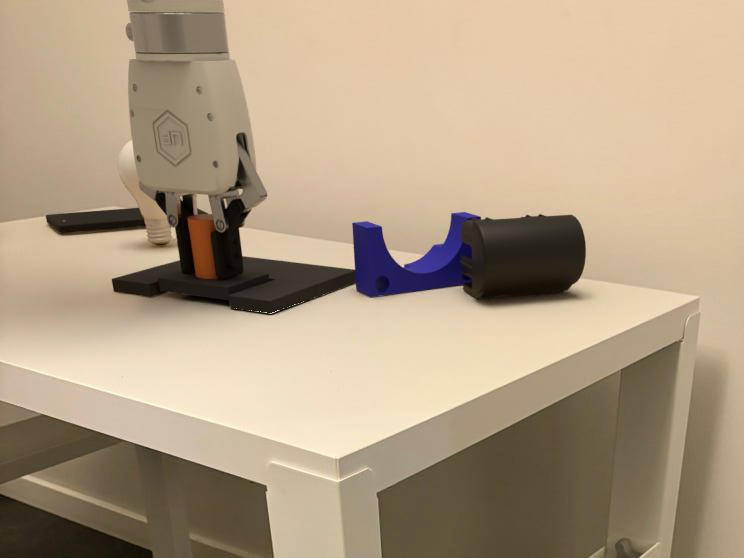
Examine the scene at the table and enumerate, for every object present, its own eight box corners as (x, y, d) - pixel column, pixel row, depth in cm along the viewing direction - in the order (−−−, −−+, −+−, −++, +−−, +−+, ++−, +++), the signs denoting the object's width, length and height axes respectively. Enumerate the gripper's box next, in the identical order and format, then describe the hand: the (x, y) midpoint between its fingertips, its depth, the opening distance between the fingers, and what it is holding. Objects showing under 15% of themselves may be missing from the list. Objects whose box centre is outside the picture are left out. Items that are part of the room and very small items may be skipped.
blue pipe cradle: (456, 273, 99) (456, 209, 96) (480, 282, 96) (480, 216, 93) (349, 287, 94) (345, 220, 91) (370, 297, 91) (366, 227, 88)
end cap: (484, 307, 88) (485, 226, 84) (456, 289, 93) (456, 213, 90) (584, 298, 91) (589, 220, 87) (551, 281, 97) (555, 207, 93)
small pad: (159, 291, 90) (147, 218, 87) (202, 277, 95) (192, 208, 91) (229, 300, 87) (220, 226, 84) (270, 286, 92) (262, 215, 88)
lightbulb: (121, 245, 110) (102, 135, 105) (173, 238, 114) (157, 132, 108) (148, 253, 106) (129, 140, 101) (200, 246, 110) (185, 136, 104)
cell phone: (211, 221, 123) (210, 213, 122) (60, 234, 115) (58, 225, 114) (190, 211, 129) (188, 203, 128) (45, 222, 121) (44, 214, 121)
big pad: (113, 292, 92) (111, 278, 91) (210, 264, 102) (208, 251, 102) (271, 314, 85) (270, 300, 85) (357, 282, 96) (356, 269, 95)
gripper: (71, 39, 81) (115, 273, 90) (233, 41, 74) (261, 292, 84) (136, 37, 86) (170, 258, 96) (290, 40, 80) (311, 274, 90)
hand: (212, 271), depth 90 cm, fingers closed on small pad, 3 cm apart
